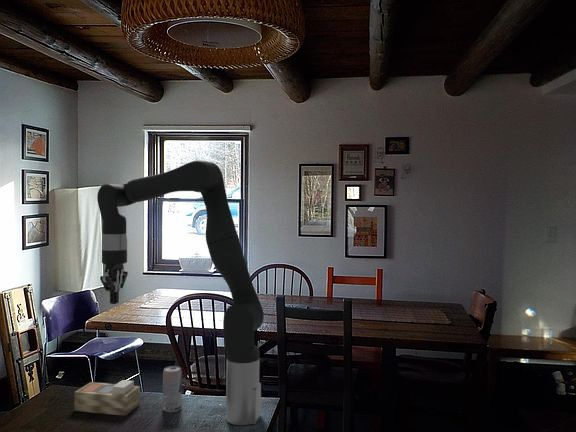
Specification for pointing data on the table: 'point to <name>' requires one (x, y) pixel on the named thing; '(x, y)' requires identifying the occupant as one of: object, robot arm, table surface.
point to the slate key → (106, 389)
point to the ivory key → (123, 387)
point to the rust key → (92, 388)
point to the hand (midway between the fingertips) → (114, 303)
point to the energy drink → (172, 389)
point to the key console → (106, 401)
